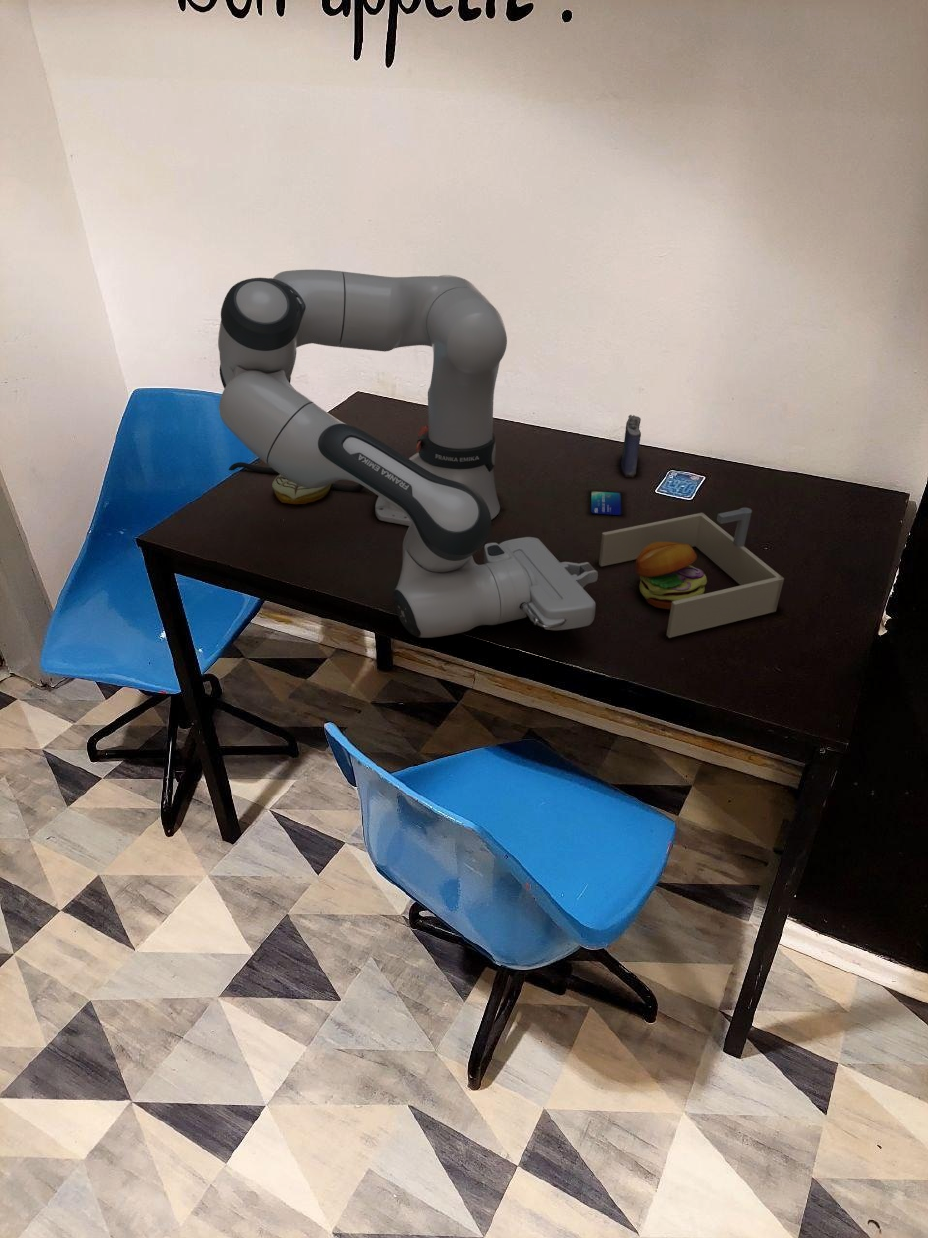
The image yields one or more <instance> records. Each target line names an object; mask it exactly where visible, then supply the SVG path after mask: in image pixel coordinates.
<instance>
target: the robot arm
mask: <svg viewBox="0 0 928 1238" xmlns="http://www.w3.org/2000/svg"><path fill="white" fill-rule="evenodd" d="M219 322H220V323H219V329H218V338H217V348H218V352H219V353H218V354H219V355H218V356H219V363H220V364H219V377H220V381H221V384H222V387H223V391H222V393H221V395H220V399H219V404H218V410H219V412H218V413H219V417H220V419H221V421H222V423H223V424H224V425H225V427H226V428H227V429H228V430H229V431H230V432H231V433H232V434H233V436H235V437H236V439H237V440H238V441H239V442H240V443H241V444H243V445H244V446H245V447H246V449H248V450H249V452H251V453H253V454H254V455H255V456H256V457H257V458H258V459H260V460H261V461H262V462H263V463H265V464H266V465H267V466H268V467H266V466H265V467H264V466H259V465H254V464H252V463H251V464H250V463H247V462H241V461H240V462H235V463H233V464H231V465H230V466H229V468H228V471H235V470H236V469H238V468H242V469H247V470H249V471H250V470H251V471H253V472H257V473H266V474H277V475H280V474H281V475H282V476H284V477H285V478H287V479H289V480H290V481H292V482H294V483H296V484H298V485H301V486H303V487H305V488H320V487H324V486H327V485H330V484H331V487H330V490H335V491H341V492H358V491H361V490H363V489H364V488H366V489H367V490H368V491H370V492H372V493H374V494H375V495H377V496H378V497H377V498H376V501H375V507H374V508H375V509H374V513H375V517H376V518H377V519H378V520H379V521H382V522H387V523H392V524H396V525H397V524H398V525H402V526H407V527H408V528H407V530H406V532H405V535H404V537H403V540H402V547H401V548H402V549H401V551H402V563H401V569H400V575H399V579H398V581H397V584H396V587H395V589H394V591H393V595H392V596H393V604H394V607H395V608H394V609H395V611H396V614H397V617H398V619H399V621H400V623H401V624H402V626H403V627H404V629H405V630H406V631H407V632H408V633H409V634H410V635H412V636H414V637H417V638H421V639H422V638H423V639H424V638H425V639H429V638H430V639H431V638H440V637H446V636H452V635H456V634H458V635H459V634H462V633H466V632H469V631H471V630H473V629H475V628H476V627H479V626H496V625H500V624H505V623H508V622H514V621H518V620H522V619H525V618H528V619H529V621H530V623H531V624H532V625H533V626H535V627H540V628H543V629H544V630H549V631H566V630H573V629H580V628H584V627H588V626H590V625H591V624H592V623H593V622H594V621H595V617H596V608H597V607H596V606H597V605H596V604H597V603H596V601H595V600H594V599H593V598H592V597H591V595H590V594H589V593H588V592H587V591H586V590H585V589H584V587H585V586H587V585H588V584H592V583H595V582H597V580H598V578H599V572H598V571H597V570H596V569H595V568H594V567H593V566H592V564H590V562H588V561H585V562H580V563H578V562H571V561H562V562H560V561H559V560H558V559H557V558H556V556H554V554H553V553H552V552H551V551H550V550H549V548H547V547H546V545H545V544H544V543H543V542H542V541H541V540H540V539H539V538H537V537H532V536H524V537H523V536H522V537H518V538H512V539H508V540H505V541H502V542H500V543H497V542H487V540H488V538H489V536H490V533H491V530H492V520H493V519H495V518H496V517H497V515H499V513H500V510H501V505H500V501H499V498H498V494H497V489H496V484H495V483H496V482H495V476H494V474H495V473H494V468H495V464H496V453H497V451H496V448H497V447H496V445H497V444H496V436H495V434H494V432H493V431H494V430H493V428H494V400H495V399H494V398H495V388H496V383H497V378H498V373H499V369H500V364H501V362H502V359H503V358H504V355H505V354H506V351H507V347H508V336H507V331H506V327H505V323H504V320H503V318H502V316H501V313H500V312H499V310H497V308H496V307H495V306H494V305H493V303H491V301H490V300H489V299H488V298H487V297H486V296H485V295H484V294H482V292H481V291H480V290H479V289H478V288H477V287H476V286H475V285H474V284H473V283H472V282H471V281H469V280H467V279H465V278H462V277H461V276H456V275H451V274H441V275H437V276H435V275H429V276H428V275H424V276H423V275H419V276H417V275H416V276H385V275H376V274H370V273H369V274H368V273H361V272H351V271H342V270H331V269H293V270H284V271H280V272H278V273H276V275H274V276H273V277H251V278H246V279H243V280H241V281H239V282H236V283H235V284H234V285H233V286H231V287H230V289H229V290H228V292H227V293H226V295H225V297H224V299H223V302H222V305H221V309H220V321H219ZM310 344H313V345H320V346H326V347H334V348H343V349H344V348H345V349H353V350H364V351H375V352H385V353H386V352H391V351H393V350H395V349H399V348H406V347H416V346H425V347H430V348H432V353H433V354H432V357H433V360H432V361H433V362H432V370H431V371H432V372H431V380H430V384H429V387H428V389H427V423H428V425H422V426H421V427H420V429H419V431H418V438H417V439H416V440H417V442H416V443H417V444H416V453H414V454H413V455H411V456H410V457H406V456H405V455H403V454H402V453H400V452H399V451H397V450H395V449H394V448H392V447H390V446H389V445H387V444H386V443H384V442H382V441H381V440H379V439H378V438H376V437H375V436H373V435H371V434H369V433H367V432H366V431H364V430H362V429H360V428H358V427H356V426H353V425H350V424H348V423H345V422H343V421H341V420H339V419H338V418H337V417H335V416H333V415H332V414H330V413H329V412H327V411H326V410H325V409H323V408H322V407H321V406H319V405H318V404H316V403H315V402H314V401H312V400H311V399H310V398H309V397H307V396H305V394H302V393H301V392H300V391H298V390H297V389H296V388H294V387H293V385H292V384H291V382H292V381H291V379H292V374H293V371H294V367H295V365H296V364H295V363H296V359H297V348H299V347H302V346H305V345H310ZM338 481H339V482H340V481H350V482H354V483H357V484H358V485H353V486H352V485H351V486H347V485H346V486H345V485H340V484H336V482H338ZM486 542H487V543H486ZM485 543H486V544H485ZM483 546H484V547H483ZM481 547H483V563H482V564H477V563H476V562H475V559H474V557H473V555H474V554H475V553H476V552H477V551H478V550H480V549H481Z"/></svg>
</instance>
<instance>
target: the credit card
mask: <svg viewBox="0 0 928 1238" xmlns="http://www.w3.org/2000/svg"><path fill="white" fill-rule="evenodd" d="M621 500H622V499H621V493H620V492H611V491H610V492H608V491H591V499H590V501H591V502H590V503H591V504H590V513H591V514H593V515H609V516H621V515H622V503H621V502H622V501H621Z"/></svg>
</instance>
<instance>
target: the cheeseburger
mask: <svg viewBox="0 0 928 1238" xmlns="http://www.w3.org/2000/svg"><path fill="white" fill-rule="evenodd" d="M697 557H698V556H697V553H696V551H695V550H694V547H691V546H690V545H688V544H682V543H673V542H655V543H652V544H649V545H648V546H646V547H645V548H644V549H643V550H642V551H641V553H640V554H639V556H638V558H637V559H635V565H634V569H635V573H636V574H637V575H639V580H640V582H639V585H638V587H639V592H640V594H641V595H642V597H643V598H644V599H645V601H646V603H648V604H649V605H651V606H653V607H655V608H659V609H663V610H664V609H665V610H669V611H670V610H671V604H672V601H677V600H681V599H685V598H689V597H694V596H698V595H702V594H705V591H706V587H705V586H706V585H707V583H708V579H707V576H706V574H705V573H704V571H703V570H702V569H700V568H698V567H696V566H695V567H694V566H693V565H692V564H693V563H694V562H695V561H696V560H697Z"/></svg>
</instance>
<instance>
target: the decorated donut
mask: <svg viewBox="0 0 928 1238" xmlns="http://www.w3.org/2000/svg"><path fill="white" fill-rule="evenodd" d="M271 487H272V489H273V493H274V495H275V496H276V498H277V499H278V501H279V502H281V503H283V504H289V505H306V504H308V503H314V502H316V501H319V500H321V499H323V498H324V497H326V495H328V494H329V492H330V490H331V488H330V487H331V484H330V485H327V486H324V487H320V488H305V487H303V486H301V485H298V484H296V483H294V482H292V481H290V480H289V479H287V478H285V477H284V476H282V475H281V474H277V476H276V477H275V478H274V480H273V481H272V484H271Z"/></svg>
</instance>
